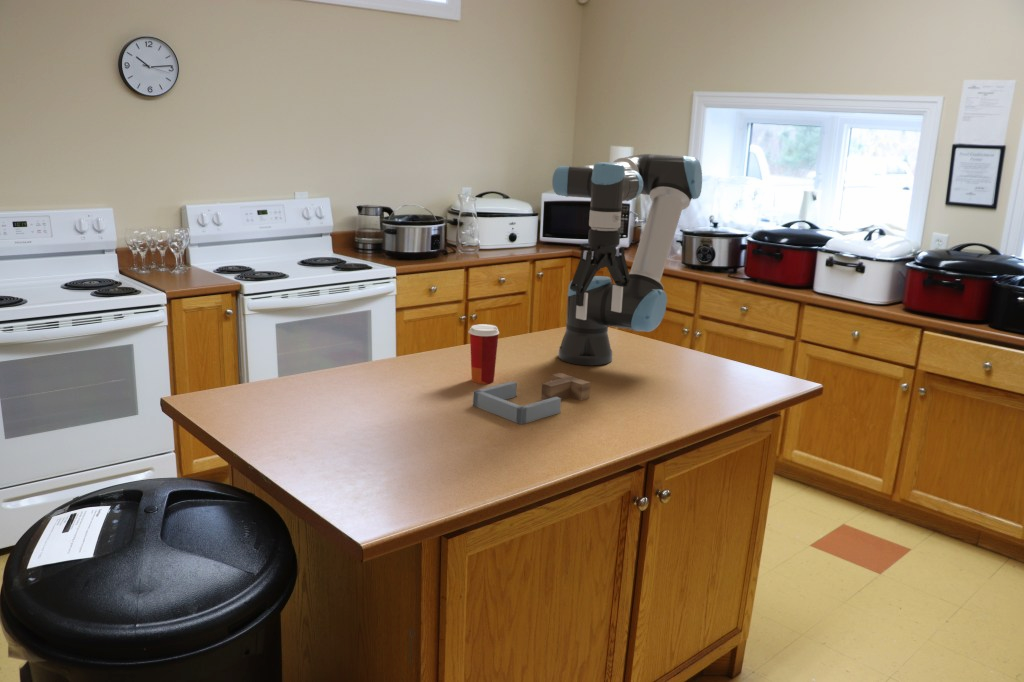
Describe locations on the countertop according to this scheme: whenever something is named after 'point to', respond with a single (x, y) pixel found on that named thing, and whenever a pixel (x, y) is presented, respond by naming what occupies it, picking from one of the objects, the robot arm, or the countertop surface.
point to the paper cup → (483, 352)
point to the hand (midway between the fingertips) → (599, 315)
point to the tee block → (565, 387)
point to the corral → (497, 404)
